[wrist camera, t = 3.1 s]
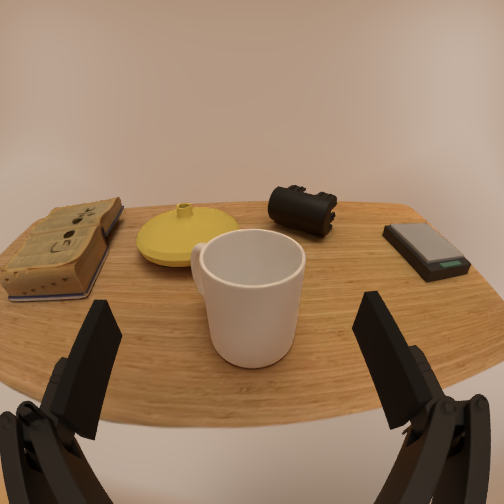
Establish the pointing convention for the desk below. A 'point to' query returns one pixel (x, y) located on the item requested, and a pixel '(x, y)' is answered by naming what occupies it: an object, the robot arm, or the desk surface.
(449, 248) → the scale
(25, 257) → the book
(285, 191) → the end cap
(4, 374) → the desk surface
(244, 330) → the cup
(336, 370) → the desk surface
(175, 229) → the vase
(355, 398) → the desk surface
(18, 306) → the desk surface
